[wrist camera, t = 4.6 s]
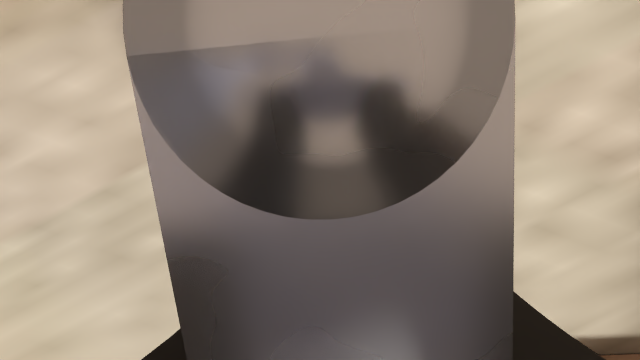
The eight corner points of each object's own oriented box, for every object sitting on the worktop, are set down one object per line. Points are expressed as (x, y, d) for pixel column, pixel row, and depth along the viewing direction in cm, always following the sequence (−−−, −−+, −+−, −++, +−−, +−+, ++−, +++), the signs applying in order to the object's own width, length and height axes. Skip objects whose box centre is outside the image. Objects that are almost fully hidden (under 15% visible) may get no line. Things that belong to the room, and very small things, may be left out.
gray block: (307, 472, 14) (264, 828, 8) (237, -68, 10) (52, -171, 4) (450, 470, 14) (519, 841, 8) (431, -91, 10) (539, -243, 4)
